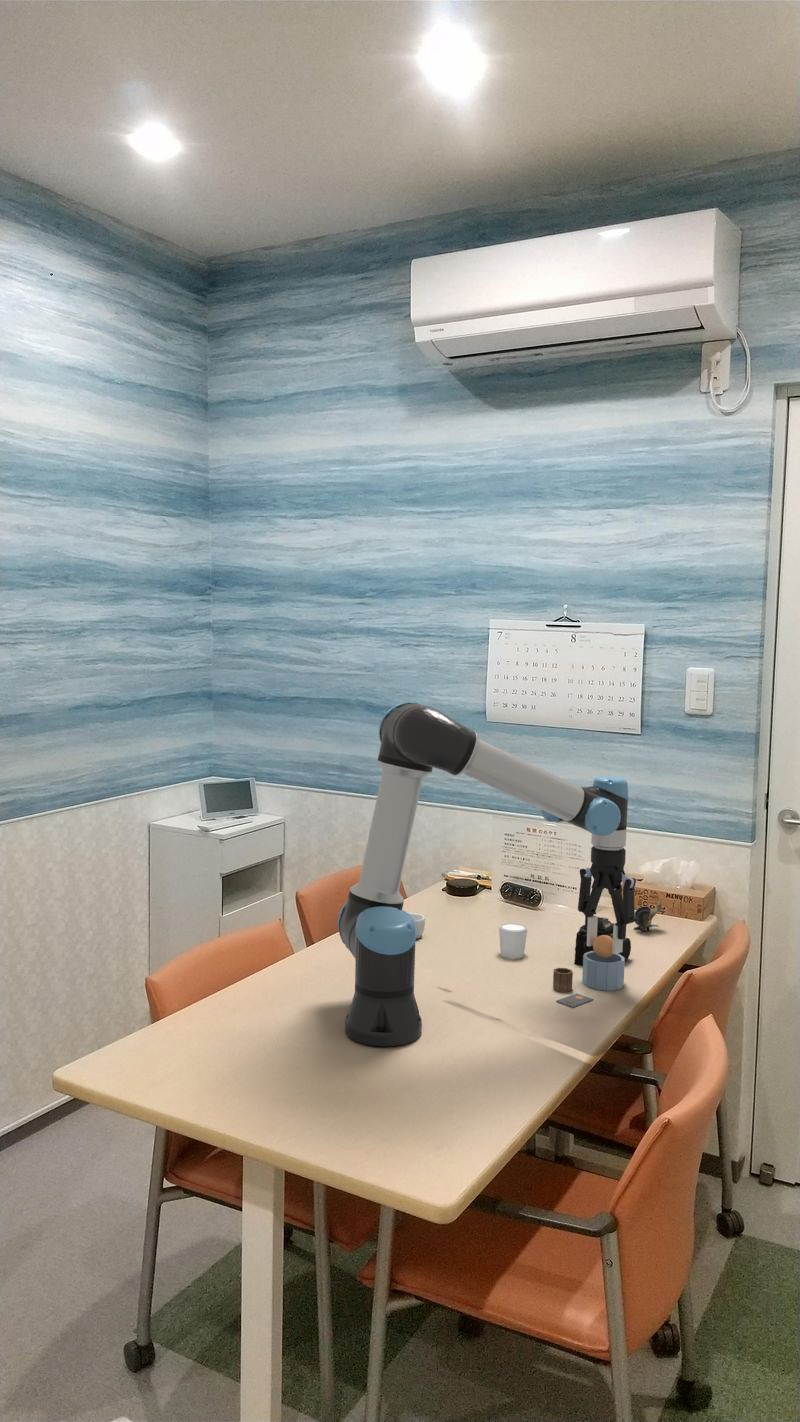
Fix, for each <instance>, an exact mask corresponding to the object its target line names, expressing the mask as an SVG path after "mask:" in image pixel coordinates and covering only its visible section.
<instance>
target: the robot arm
mask: <svg viewBox="0 0 800 1422" xmlns="http://www.w3.org/2000/svg"><path fill="white" fill-rule="evenodd" d="M378 735H379V740H380V747H379V750H378V751H379V752H378V756H377V761H376V762H377V763H378V765H379V766H380V768H381V771H382V773H381V775H380V776H381V778H380V781H379V782H380V783H379V786H378V791H377V797H376V801H375V805H374V810H373V816H372V818H371V824H370V829H369V833H368V837H367V838H368V839H367V843H366V848H365V851H364V852H365V853H364V856H363V862H362V865H361V866H362V867H361V870H360V875H359V880H358V882H357V883H355V884H354V885H353V886H351V887H350V888H349V892H348V897H347V901H346V902H345V903H344V904H343V906H342V907H341V909H340V911H339V914H338V918H337V929H338V934H339V936H340V939H341V941H342V944H344V945H345V947H346V949H348V951H349V952H350V953H351V955H352V956H353V958H354V960H355V966H354V967H355V969H354V994H353V997H352V1000H351V1002H350V1007H349V1012H348V1013H347V1015H346V1017H345V1018H344V1019H345V1021H344V1032H345V1034H346V1036H347V1037H348V1038H350V1040H353V1041H355V1042H357V1043H360V1044H363V1045H368V1046H376V1047H377V1046H378V1047H395V1046H400V1045H406V1044H409V1043H412V1042H414V1041H416V1040H418V1039H419V1038H421V1036H422V1031H423V1020H422V1016H421V1015H420V1012H419V1011H420V1010H419V1007H418V1003H417V1000H416V997H415V968H416V967H415V965H416V962H415V961H416V941H417V939H416V929H415V921H414V919H413V917H412V916H411V915H410V914H409V913H410V912H407V911H405V910H403V908H404V907H403V906H404V902H405V899H404V897H403V896H402V894H401V892H400V887H401V881H402V877H403V872H404V869H405V863H406V859H407V854H408V850H409V844H410V841H411V836H412V831H413V828H414V827H413V826H414V822H415V817H416V814H417V813H416V812H417V807H418V803H419V798H420V794H421V789H422V784H423V782H424V781H423V780H424V779H425V778H426V777H428V776H429V775H431V774H432V772H433V768H435V769H437V770H441V771H444V772H446V773H448V774H451V775H453V776H455V777H456V776H457V777H458V776H460V775H462V774H463V775H465V776H467V777H469V778H471V779H473V780H476V781H478V782H481V783H482V784H484V785H487V786H489V787H491V788H494V789H496V790H498V791H500V792H502V793H504V794H507V795H508V796H511V797H514V798H515V799H517V800H520V801H522V802H524V803H527V804H529V805H530V806H533V807H535V808H537V809H539V810H540V812H541V815H542V817H543V818H544V820H546V822H552V823H560V822H563V823H568V824H570V825H573V826H575V827H578V828H580V829H582V830H584V831H587V832H589V833H591V839H590V840H591V841H590V843H591V845H592V847H591V849H590V862H591V866H590V867H584V868H580V870H579V876H580V884H579V885H580V887H579V893H578V895H579V896H578V901H577V902H578V905H577V911H578V912H579V913H582V914H583V915H584V916H585V917H584V919H585V920H584V925H585V930H587V946H589V947H590V946H593V943H594V940H595V939H596V938H597V923H598V917H599V916H598V915H596V914H597V912H596V911H597V908H598V906H599V902H600V899H601V896H602V894H603V890H604V889H606V890H607V891H608V894H609V895H610V898H611V902H612V908H613V911H614V916H615V921H616V922H615V923H614V925H613V949H612V953H613V954H618V953H621V952H622V949H623V939H625V938H627V936H626V935H627V925H628V924H629V925H630V924H632V923H635V912H636V909H635V908H636V907H635V887H636V883H637V880H636V878H635V877H632V878H631V877H629V876H628V875H626V873H625V869H624V868H625V865H626V857H627V856H626V854H627V853H626V852H627V850H626V849H625V847H626V846H627V824H628V823H627V821H628V820H627V819H628V805H629V785H628V781H627V780H626V779H625V778H622V777H618V776H608V775H607V776H605V775H604V776H597V777H594V779H593V783H592V786H591V785H590V786H578V785H577V784H574V783H572V782H571V781H568V780H566V779H564V778H561V777H560V776H558V775H555V774H553V773H551V772H549V771H547V770H545V769H543V768H541V767H539V766H536V765H534V764H533V763H531V762H528V761H526V760H524V759H522V758H520V757H518V756H515V755H514V754H511V753H509V752H508V751H505V750H503V749H500V748H499V747H496V746H494V745H492V744H490V743H488V742H485V741H484V740H483V739H480V738H479V737H478V734H477V732H476V731H475V730H472V729H470V728H468V727H466V726H465V725H462V724H461V723H459V722H458V721H456V720H455V719H453V718H451V717H449V716H448V715H447V714H445V713H444V712H442V711H441V710H438V709H437V708H434V707H432V706H429V705H428V706H427V705H423V704H420V703H417V702H411V701H410V702H403V703H399V704H396V705H394V706H392V707H391V708H390V709H388V710H387V711H386V712H385V714H383V716H382V718H381V720H380V723H379V728H378ZM592 879H593V882H592Z"/></svg>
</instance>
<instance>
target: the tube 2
mask: <svg viewBox="0 0 800 1422" xmlns="http://www.w3.org/2000/svg"><path fill="white" fill-rule="evenodd" d="M625 964H626V962H625V958H624V957H623V956H621V955H620V954H613V955H612V956H611V957H608V958H602V957H599V956H598V955H597V954H596V953H595V952H594V951H590V952H587V953H584V956H583V966H582V976H581V977H582V984H583V985H585V986H586V987H588V988H590V989H593V990H600V991H617V990H621V989H622V988H624V985H625Z"/></svg>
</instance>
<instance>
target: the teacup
mask: <svg viewBox="0 0 800 1422" xmlns="http://www.w3.org/2000/svg"><path fill="white" fill-rule="evenodd" d="M408 913H409V914H410V915H411V916H412V917H413V919H414V921H415V929H416V940H417V939H419V938H421V937H422V935H423V933H424V931H425V923H426V922H425V921H426V917H425V916H424V914H420V913H415V912H408Z"/></svg>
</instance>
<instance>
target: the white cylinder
mask: <svg viewBox="0 0 800 1422" xmlns="http://www.w3.org/2000/svg"><path fill="white" fill-rule="evenodd" d="M498 930H499V931H498V933H499V951H500V956H501V957H503V958H506V959H510V960H511V959H512V960H515V959H517V960H518V959H521V958H523V957H524V956H525V949H526V942H527V936H528V935H527V934H528V927H527V926H526V925H523V924H518V923H504V924H500V925H499V927H498Z"/></svg>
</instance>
